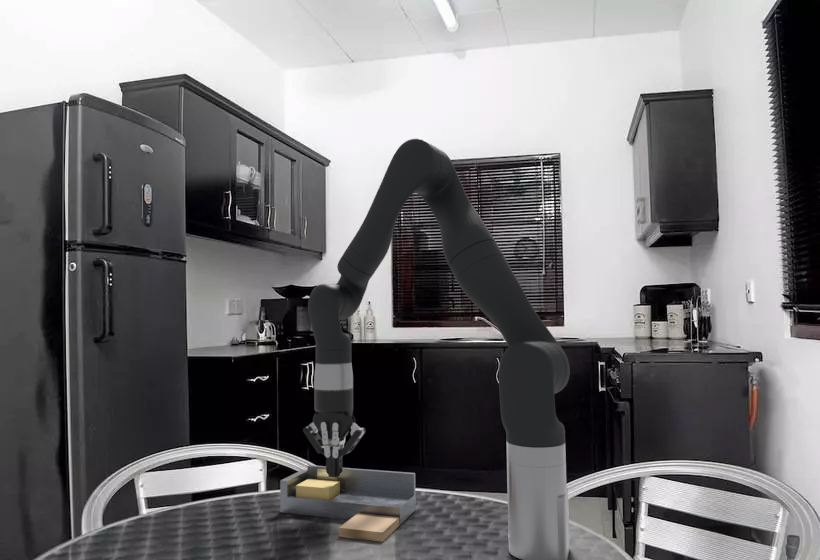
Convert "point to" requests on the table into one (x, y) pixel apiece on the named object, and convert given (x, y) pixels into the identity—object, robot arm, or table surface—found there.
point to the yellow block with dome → (318, 489)
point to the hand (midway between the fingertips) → (334, 476)
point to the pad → (369, 527)
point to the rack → (353, 494)
